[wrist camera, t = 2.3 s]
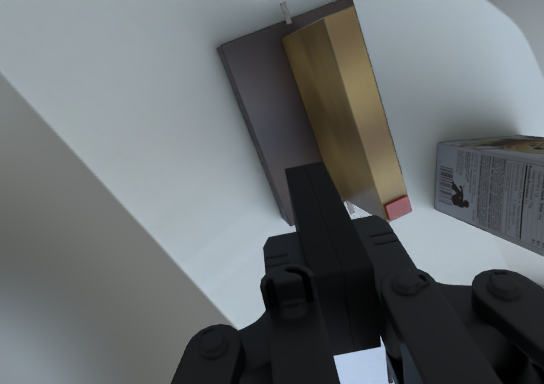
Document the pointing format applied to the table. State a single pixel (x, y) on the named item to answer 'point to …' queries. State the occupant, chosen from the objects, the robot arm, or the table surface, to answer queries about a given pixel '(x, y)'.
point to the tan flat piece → (347, 113)
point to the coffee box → (495, 186)
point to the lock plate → (276, 99)
